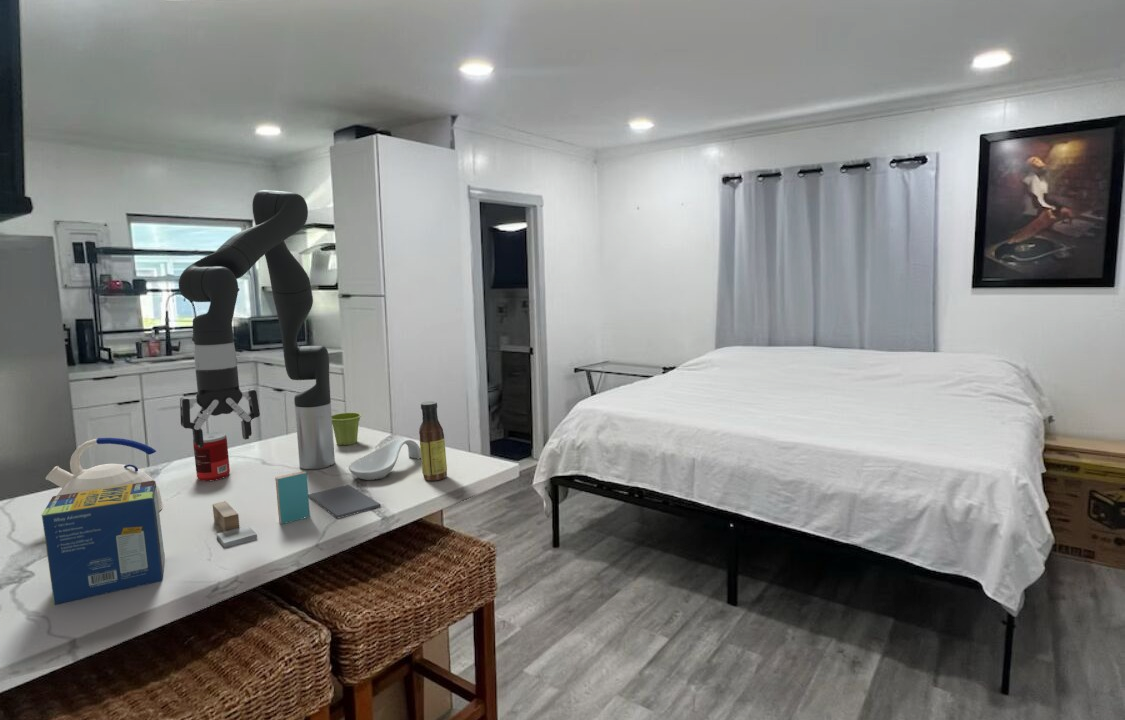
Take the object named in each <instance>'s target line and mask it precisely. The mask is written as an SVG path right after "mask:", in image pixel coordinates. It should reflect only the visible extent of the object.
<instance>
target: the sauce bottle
mask: <svg viewBox="0 0 1125 720" xmlns="http://www.w3.org/2000/svg"><path fill="white" fill-rule="evenodd" d="M420 409H421V413H422V416H421V417H422V422H421V425H420V426H419V431H418V433H419V447H420V449H421V459H420V461H421V469H422V471H421V472H422V474H423V475H422V476H423V479H424V480H425V481H430V482H436V481H437V482H438V481H441V480H444V479H445V478H447V476H448V472H447V471H448V464H447V454H446V442H445V441H446V440H445V434H444V433H445V432H444V428H443V427H442V425H441V423H440V421H439V419H438V418H439V416H438V402H437V401H432V400H431V401H424V402H421V403H420Z"/></svg>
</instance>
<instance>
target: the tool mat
mask: <svg viewBox="0 0 1125 720" xmlns="http://www.w3.org/2000/svg"><path fill="white" fill-rule="evenodd" d="M308 497H310V498H311V499H310V498H309V499H310V500H312V501H313V500H314V501H315V502H314V501H313V502H314V503H316V502H317V503H318V504H319V506H320V505H321V506H322V507H323V508H322V507H321V506H320V507H321V508H322V509H324V508H325V509H326V510H325V509H324V510H325V511H326V512H328V511H329V512H330V513H329V512H328V513H329V514H331V515H332V514H333V515H334V516H333V515H332V516H333V517H334V518H336V517H337V518H336V519H339V518H338V517H341V518H343V517H342V516H344V517H347V516H346V515H348V516H351V515H354V513H355V514H358V513H357V512H359V513H362V512H366V511H370V510H373V509H376V507H377V508H380V506H381V503H380V502H378V501H376V500H375V499H373V498H371V497H369V496H368V495H366V493H363V492H362V491H360V490H358V489H357V488H355V487H354V486H352V485H350V484H345V485H340V486H337V487H333V488H330V489H329V488H328V489H325V490H321V491H316V492H313V493H308ZM317 503H316V504H317ZM318 504H317V505H318ZM369 509H370V510H369ZM365 510H366V511H365ZM361 511H362V512H361ZM350 514H351V515H350Z"/></svg>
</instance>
